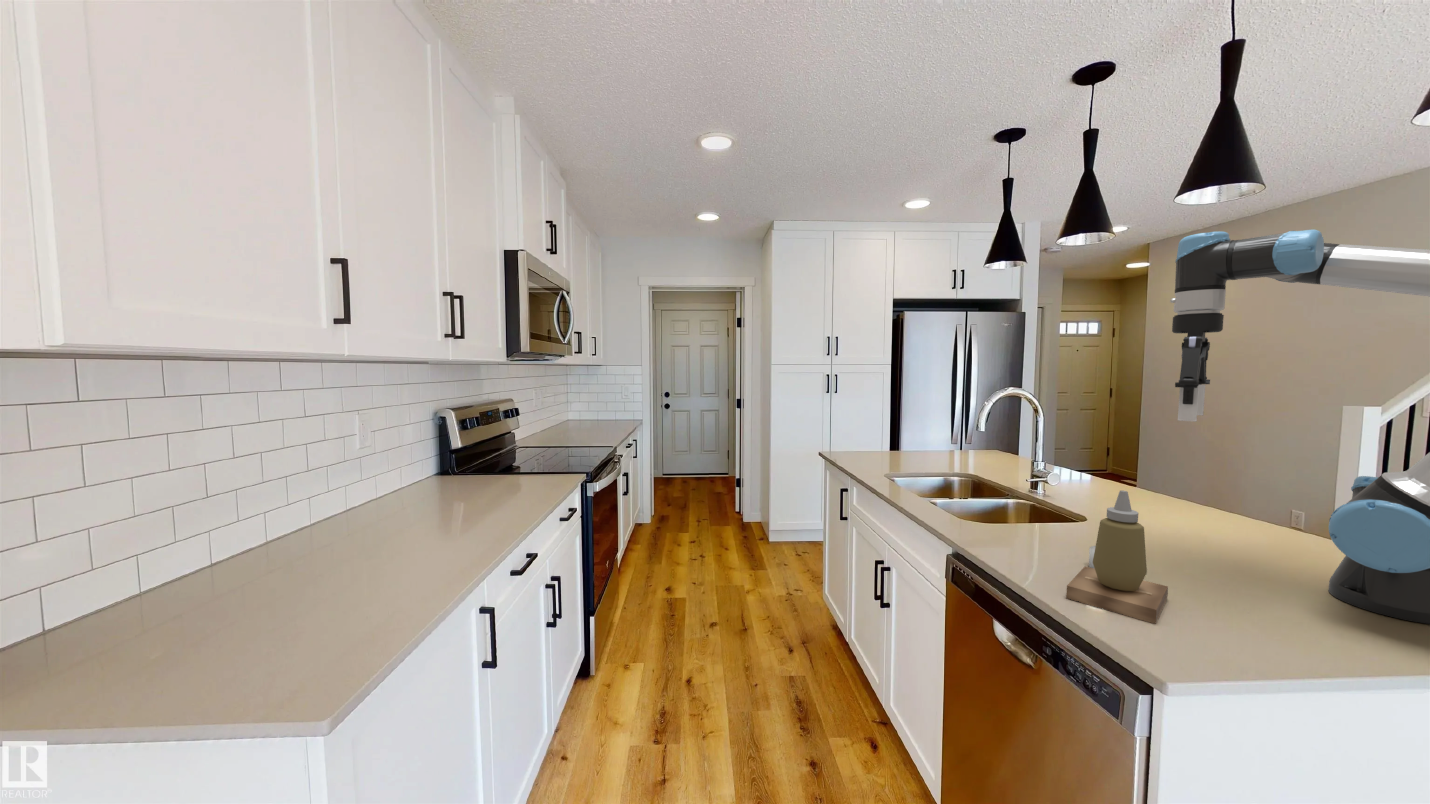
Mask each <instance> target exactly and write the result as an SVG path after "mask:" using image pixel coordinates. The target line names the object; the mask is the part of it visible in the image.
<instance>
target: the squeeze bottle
mask: <svg viewBox="0 0 1430 804" xmlns="http://www.w3.org/2000/svg"><path fill="white" fill-rule="evenodd" d="M1138 521H1139V512H1138V511H1137V510H1134V509H1132V505H1131V501H1130V497H1129V492H1128V491H1127V490H1119V492H1118V495H1117V498H1116V500H1115V503H1114V506H1110V507H1107V508H1106V517H1105V518H1102V519H1101V520H1100V521H1099V526H1098V532H1097V535H1096V536H1097V537H1096V542H1095V546H1096V547H1095V552H1094V558H1093V565H1094V568H1095V571H1096V574H1097V577H1098V580H1099V582H1100V583H1101V584H1103V585H1105V586H1107V587H1110V588H1113V589H1118V590H1123V591H1135V590H1138V588H1139V586H1140V585H1141V583H1142V581H1144V579H1145V577H1146V575H1147V573H1148V571H1147V570H1148V569H1147V553H1146V550H1147V549H1146V535H1145V527H1144V526H1143V525H1142V524H1141V523H1139V522H1138Z"/></svg>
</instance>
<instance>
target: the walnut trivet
mask: <svg viewBox="0 0 1430 804" xmlns="http://www.w3.org/2000/svg"><path fill="white" fill-rule="evenodd" d="M1168 592H1169V586H1167V585H1163V584H1160V583H1156V582H1153V581H1152V582H1151V581H1149V580H1143V581H1142V583H1141V585H1140V586H1139V588H1138V590H1135V591H1123V590H1118V589H1113V588H1110V587H1107V586H1105V585H1103V584H1101V583H1100V582H1099V580H1098V577H1097V574H1096V571H1095V569H1094V568H1090V567H1089V566H1084V567H1083V568H1081V570H1080V571H1078V573H1077V574H1076V575H1075V576H1074V577H1073V578H1072V580H1071V581H1069V583H1068V584H1067V585H1066V592H1065V593H1066V595H1065V596H1066V600H1070V599H1071V601H1075V602H1077V601H1079V602H1078V603H1082V604H1085V605H1088V606H1093V607H1096V608H1098V607H1099V608H1098V609H1102V608H1103V609H1102V610H1105V611H1110V612H1112V613H1116V614H1119V615H1122V614H1123V616H1126V617H1130V618H1133V619H1136V620H1140V621H1143V622H1147V623H1150V624H1154V625H1156V624H1157V622H1158V620H1159V618H1160V617H1161V613H1162V611H1163V610H1164V608H1165V605H1166V603H1167V601H1168V596H1169V595H1168V594H1169V593H1168Z"/></svg>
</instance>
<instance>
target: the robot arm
mask: <svg viewBox="0 0 1430 804" xmlns="http://www.w3.org/2000/svg"><path fill="white" fill-rule="evenodd" d="M1257 278H1269V279H1272V280H1273V279H1274V280H1275V281H1278V282H1283V283H1298V284H1300V283H1301V284H1311V285H1319V286H1320V285H1321V286H1330V287H1331V286H1332V287H1339V288H1340V287H1341V288H1346V289H1347V288H1349V289H1356V290H1357V289H1359V290H1368V291H1376V292H1384V293H1394V294H1404V295H1412V296H1423V297H1428V298H1429V297H1430V249H1426V248H1425V249H1424V248H1407V247H1395V246H1394V247H1392V246H1374V245H1362V244H1359V245H1358V244H1357V245H1356V244H1344V243H1341V244H1340V243H1332V242H1331V243H1330V242H1325V241H1324V236H1323V234H1322V232H1321V231H1320V230H1317V229H1305V230H1289V231H1287V232H1283V233H1275V234H1269V235H1268V234H1267V235H1261V236H1255V237H1250V238H1243V239H1232V240H1231V238H1230V234H1229V232H1226V231H1210V232H1200V233H1195V234H1191V235H1187V236H1184V237H1183V238H1182V239H1180V241H1179V242H1178V246H1177V254H1176V258H1175V278H1174V279H1175V280H1174V281H1175V282H1174V284H1175V285H1174V297H1172V298H1170V300H1169V303H1171V304H1173V312H1174V313H1176V315H1174V316H1172V325H1171V332H1172V333H1173V334H1187V336H1184V337H1183V339H1182V340H1183V342H1181V365H1180V373H1179V379H1178V382H1177V381H1176V382H1175V384H1174V388H1179V396H1178V410H1177V411H1178V412H1177V422H1178V421H1179V422H1180V421H1181V422H1183V421H1184V422H1197V421H1198V420H1197V419H1198V416H1204V413H1205V412H1204V409H1205V398H1206V397H1205V396H1206V385H1211V379H1208V377H1207V361H1208V359H1209V351H1210V347H1211V342H1210V341H1209V339H1208V337H1206V334H1207V333H1208V334H1209V333H1220V332H1222V331H1223V330H1224V319H1225V317H1224V316H1225V315H1224V314H1223V313H1222V312H1221V311H1224V310H1225V307H1226V296H1227V295H1226V294H1227V289H1226V288H1227V287H1226V286H1227V281H1235V280H1237V281H1238V280H1247V279H1257ZM1350 490H1351V491H1352V496H1351V499H1350V500H1348V501H1347V502H1346V503H1344V504H1342V505H1340V506H1338V507H1337V508H1336V509H1334V510H1333V512H1332V514H1331V515H1330V517H1329V519H1328V520H1329V522H1328V533H1329V536H1330V538H1331V541H1332V542H1333V544H1334V546H1335V547H1336V548H1337V549H1338V550H1339V551H1340V552H1341V553H1343V554H1344V555H1345V556H1344V557H1343V559H1342V560H1341V561H1340V563H1339V565H1338V566H1337V568H1336V569H1335V570H1334V572H1333V574H1332V575H1331V577H1330V578H1329V580H1328V581H1329V582H1328V593H1330V595H1332V596H1333V597H1334V598H1336V599H1338V600H1340V601H1342V602H1344V603H1346V604H1349V605H1351V606H1354V607H1357V608H1359V609H1363V610H1366V611H1369V612H1372V613H1376V614H1379V615H1383V616H1387V617H1389V618H1390V617H1392V618H1395V619H1400V620H1404V621H1408V622H1414V623H1419V624H1427V625H1428V624H1429V625H1430V451H1429V452H1428V453H1427V454H1425V455H1424V456H1423V457H1422V458H1420V460H1418V461H1417V462H1416V463H1414V464H1413V465H1412V466H1410V467H1409V468H1408V469H1407V470H1405V471H1404V470H1403V471H1392V472H1391V471H1388V472H1387V471H1386V472H1383V473H1382V474H1381V475H1379V476H1378V477H1377V476H1371V475H1369V476H1368V475H1367V476H1366V475H1360V476H1357V477H1356V478H1355V479H1354V481H1353V484H1352V486H1351V488H1350Z"/></svg>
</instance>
